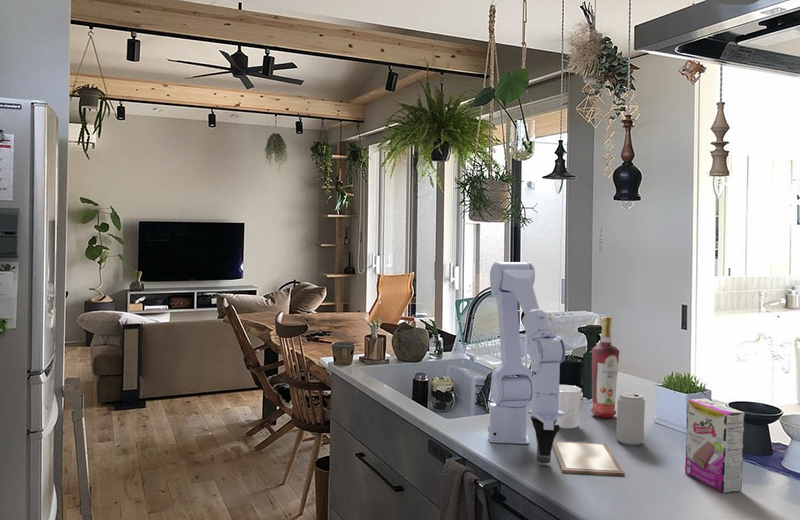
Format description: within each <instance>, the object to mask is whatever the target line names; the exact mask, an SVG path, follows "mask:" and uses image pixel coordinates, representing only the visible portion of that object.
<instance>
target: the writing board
mask: <svg viewBox="0 0 800 520" xmlns="http://www.w3.org/2000/svg"><path fill="white" fill-rule="evenodd" d="M552 449H553V452H554V454H555V457H556V460H557V463H558V465H559V467H560V470H561V473H565V474H580V475H581V474H582V475H600V476H616V477H617V476H618V477H625V474H626V473H625V472H624V470H623V468H622V467H621V465H620V464H619V462H618V460H617V459H616V457H615V455H614V453H612V450H610V448H609V446H608V445H607V443H595V442H577V441H576V442H575V441H556V440H554V441H553V445H552Z"/></svg>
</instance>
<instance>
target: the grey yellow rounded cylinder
mask: <svg viewBox="0 0 800 520" xmlns="http://www.w3.org/2000/svg"><path fill="white" fill-rule="evenodd" d="M551 455H552V452H551V453H550V456H544V455H540V452H539V447H538V439H536V462H538V463H541V464H549V463H551V462H552V461H551V457H552V456H551Z"/></svg>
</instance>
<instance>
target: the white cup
mask: <svg viewBox="0 0 800 520" xmlns="http://www.w3.org/2000/svg"><path fill="white" fill-rule="evenodd" d="M581 396H582V388H581V387H579V386H576V385H569V384H559V407H558V411H563V412H564V416H559V417H558V418H557V421H556V423H555V425H559V427H560V428H559V429H569V430H570V429H571V430H572V429H575V428H578V427H579V418H580V410H581V409H580V408H581V400H582V399H581V398H582V397H581Z"/></svg>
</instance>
